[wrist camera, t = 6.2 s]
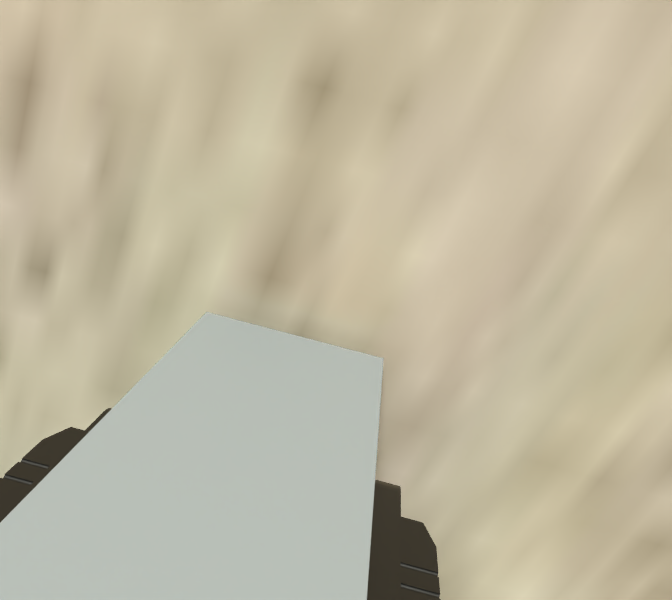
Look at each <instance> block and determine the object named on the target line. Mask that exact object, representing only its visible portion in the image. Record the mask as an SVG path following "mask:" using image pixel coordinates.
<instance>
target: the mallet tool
mask: <svg viewBox="0 0 672 600" xmlns="http://www.w3.org/2000/svg"><path fill="white" fill-rule="evenodd" d="M382 373H383V358H380V357H376V356H373V355H369V354H365V353H361V352H357V351H353V350H350V349H346V348H342V347H338V346H334V345H331V344H327V343H323V342H319V341H315V340H312V339H308V338H304V337H300V336H296V335H292V334H289V333H285V332H281V331H277V330H273V329H270V328H266V327H262V326H258V325H254V324H251V323H247V322H243V321H239V320H235V319H231V318H228V317H224V316H220V315H216V314H212V313H209V312H206V313H205V314H204V315H203V316H202V317H201V318H200V319H199V320H198V321H197V322H196V323H195V324H194V325H193V326H192V327H191V328H190V329H189V330H188V331H187V333H186V334H185V335H184V336H183V337H182V338H181V339H180V340H179V341H178V342H177V343H176V344H175V345H174V346H173V347H172V348H171V349H170V350H169V351H168V352H167V353H166V354H165V355H164V356H163V357H162V358H161V359H160V360H159V361H158V362H157V363H156V364H155V365H154V366H153V367H152V368H151V369H150V370H149V371H148V372H147V373H146V374H145V375H144V376H143V377H142V378H141V379H140V381H139V382H138V383H137V384H136V385H135V386H134V387H133V388H132V389H131V390H130V391H129V392H128V393H127V394H126V395H125V396H124V397H123V398H122V399H121V400H120V401H119V402H118V403H117V404H116V405H115V406H114V407H113V408H112V409H111V410H110V411H109V412H108V413H107V414H106V415H105V416H104V417H103V418H102V419H101V420H100V421H99V422H98V423H97V424H96V425H95V426H94V427H93V429H92V430H91V431H90V432H89V433H88V434H87V435H86V436H85V437H84V438H83V439H82V440H81V441H80V442H79V443H78V444H77V445H76V446H75V447H74V448H73V449H72V450H71V451H70V452H69V453H68V454H67V455H66V456H65V457H64V458H63V459H62V460H61V461H60V462H59V463H58V464H57V465H56V466H55V467H54V468H53V469H52V470H51V471H50V472H49V473H48V474H47V475H46V477H45V478H44V479H43V480H42V481H41V482H40V483H39V484H38V485H37V486H36V487H35V488H34V489H33V490H32V491H31V492H30V493H29V494H28V495H27V496H26V497H25V498H24V499H23V500H22V501H21V502H20V503H19V504H18V505H17V506H16V507H15V508H14V509H13V510H12V511H11V512H10V513H9V514H8V515H7V516H6V517H5V518H4V519H3V520H2V521H1V522H0V600H367V589H368V574H369V560H370V545H371V531H372V517H373V502H374V488H375V473H376V459H377V445H378V430H379V416H380V402H381V387H382Z"/></svg>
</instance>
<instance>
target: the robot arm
mask: <svg viewBox="0 0 672 600" xmlns="http://www.w3.org/2000/svg"><path fill="white" fill-rule="evenodd" d="M111 409H112V408H108V409H106V410H105V411H104V412H103V413H102V414H101V415H100V416H99V417H98V418H97V419H96V420H95V421H94V422H93V423H92V424H91V425H90V426H89V427H88V428H87V429H86V430H85V431H84V430H80V429H76V428H73V427H70V428H68V429H65V430H63V431H61V432H59V433H56V434H54V435H52V436H50V437H48V438H45V439H43V440H42V441H41V442H40V443H38V444H37V445H36V446H35V447H34V448H33V449H32V450H31V451H30V452H29V453H28V454H26V455H25V456H24V457H23V458H22V461H21V462H18V463H17V464H15V465H14V466H13V467H12V468H11V469H10V470H9V471H8V472H7V473H6V474H5V476H4V478H0V522H1V521H2V520H3V519H4V518H5V517H6V516H7V515H8V514H9V513H10V512H11V511H12V510H13V509H14V508H15V507H16V506H17V505H18V504H19V503H20V502H21V501H22V500H23V499H24V498H25V497H26V496H27V495H28V494H29V493H30V492H31V491H32V490H33V489H34V488H35V487H36V486H37V485H38V484H39V483H40V482H41V481H42V480H43V479H44V478H45V477H46V475H47V474H48V473H49V472H50V471H51V470H52V469H53V468H54V467H55V466H56V465H57V464H58V463H59V462H60V461H61V460H62V459H63V458H64V457H65V456H66V455H67V454H68V453H69V452H70V451H71V450H72V449H73V448H74V447H75V446H76V445H77V444H78V443H79V442H80V441H81V440H82V439H83V438H84V437H85V436H86V435H87V434H88V433H89V432H90V431H91V430H92V429H93V427H94V426H95V425H96V424H97V423H98V422H99V421H100V420H101V419H102V418H103V417H104V416H105V415H106V414H107V413H108V412H109V411H110V410H111ZM437 576H438V563H437V551H436V546H435V544H434V542H433V540H432V538H431V537H430V535H429V533H428V531H427V529H426V527H425V526H424V524H423V523H422V522H418V521H415V520H411V519H407V518H404V517H401V489H400V486H397V485H393V484H389V483H385V482H382V481H378V480H375V488H374V502H373V517H372V531H371V545H370V560H369V574H368V589H367V600H440V599H439V595H440V588H439V577H437Z"/></svg>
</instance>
